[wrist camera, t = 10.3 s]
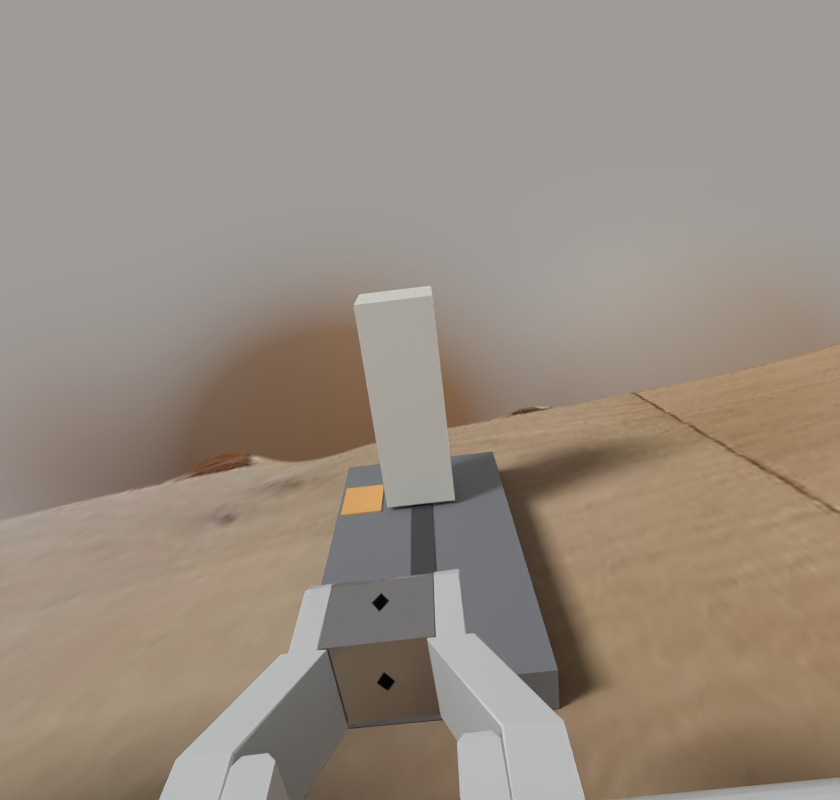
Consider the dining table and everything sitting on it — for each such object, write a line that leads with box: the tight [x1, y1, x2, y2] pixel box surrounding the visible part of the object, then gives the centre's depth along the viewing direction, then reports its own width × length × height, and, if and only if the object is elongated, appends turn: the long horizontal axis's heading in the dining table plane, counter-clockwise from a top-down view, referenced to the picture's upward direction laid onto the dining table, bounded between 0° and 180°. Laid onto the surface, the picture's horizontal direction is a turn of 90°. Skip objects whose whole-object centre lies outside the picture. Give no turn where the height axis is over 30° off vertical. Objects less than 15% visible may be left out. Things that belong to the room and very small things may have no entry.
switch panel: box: [322, 452, 559, 728], centre depth 29 cm, size 18×10×2 cm, turn 0°
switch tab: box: [354, 286, 455, 507], centre depth 30 cm, size 3×4×12 cm
